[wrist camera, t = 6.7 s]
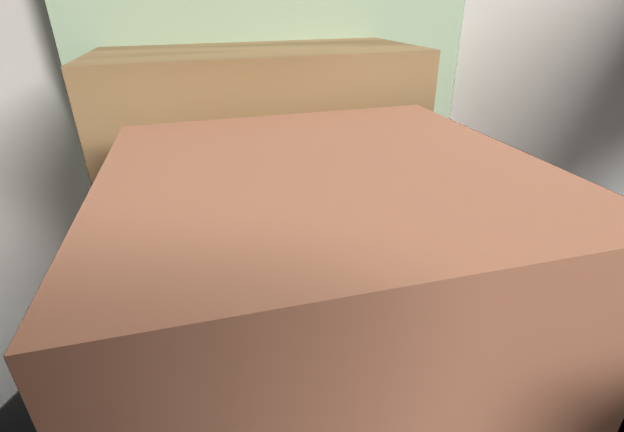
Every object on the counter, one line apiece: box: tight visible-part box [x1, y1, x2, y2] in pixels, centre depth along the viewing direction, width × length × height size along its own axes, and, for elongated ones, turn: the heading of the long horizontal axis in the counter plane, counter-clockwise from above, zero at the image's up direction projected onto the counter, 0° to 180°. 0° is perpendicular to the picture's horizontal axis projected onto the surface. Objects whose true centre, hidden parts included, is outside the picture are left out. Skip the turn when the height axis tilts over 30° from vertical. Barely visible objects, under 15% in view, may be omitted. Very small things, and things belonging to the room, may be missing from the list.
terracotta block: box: [3, 105, 624, 432], centre depth 7 cm, size 6×6×6 cm
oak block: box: [61, 37, 441, 185], centre depth 13 cm, size 8×8×4 cm
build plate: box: [45, 0, 465, 119], centre depth 14 cm, size 16×12×1 cm
